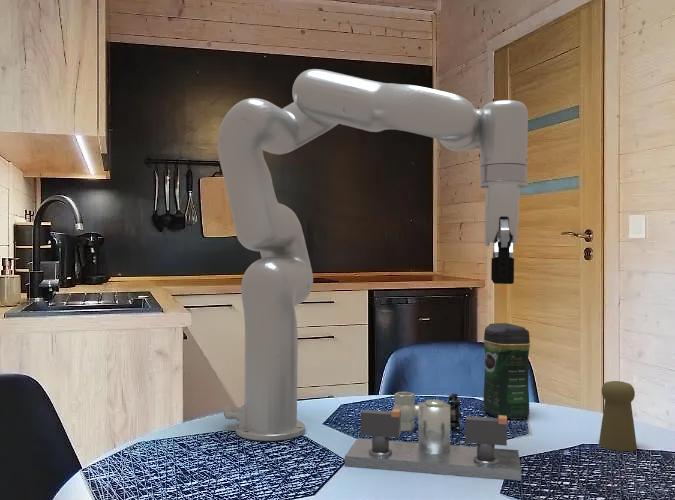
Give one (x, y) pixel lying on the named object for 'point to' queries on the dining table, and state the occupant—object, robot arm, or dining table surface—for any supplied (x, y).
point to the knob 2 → (486, 435)
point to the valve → (412, 411)
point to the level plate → (435, 460)
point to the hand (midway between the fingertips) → (502, 282)
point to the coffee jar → (506, 370)
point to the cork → (618, 417)
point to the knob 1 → (381, 427)
